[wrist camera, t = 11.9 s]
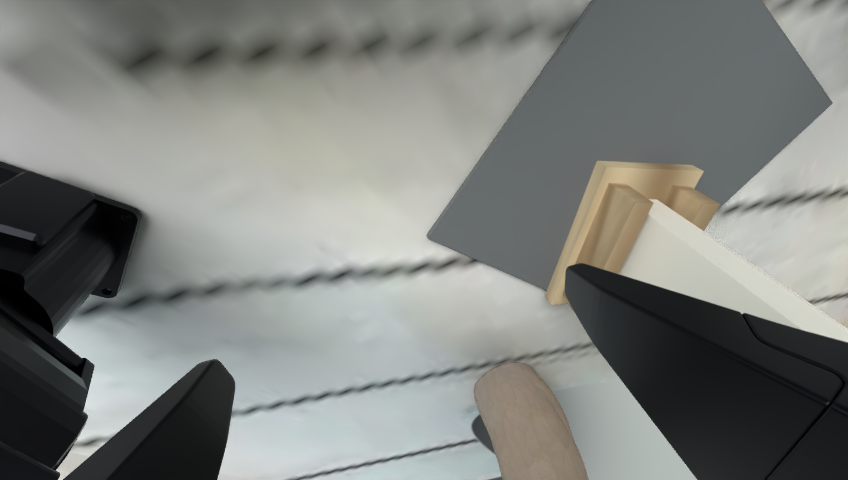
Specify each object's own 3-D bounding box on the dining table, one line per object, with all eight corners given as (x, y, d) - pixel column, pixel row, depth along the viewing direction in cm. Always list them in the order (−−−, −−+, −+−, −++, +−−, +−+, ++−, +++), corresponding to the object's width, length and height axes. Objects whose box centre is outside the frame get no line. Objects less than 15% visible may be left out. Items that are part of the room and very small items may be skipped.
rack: (544, 295, 29) (567, 329, 26) (596, 160, 23) (633, 185, 20) (623, 292, 30) (652, 324, 27) (691, 164, 24) (738, 188, 21)
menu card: (588, 283, 27) (725, 449, 18) (627, 198, 23) (829, 350, 14) (614, 282, 28) (762, 443, 18) (656, 199, 24) (873, 346, 14)
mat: (600, 312, 32) (603, 315, 31) (426, 235, 24) (427, 238, 24) (826, 101, 24) (832, 103, 23) (673, -115, 16) (679, -118, 16)
